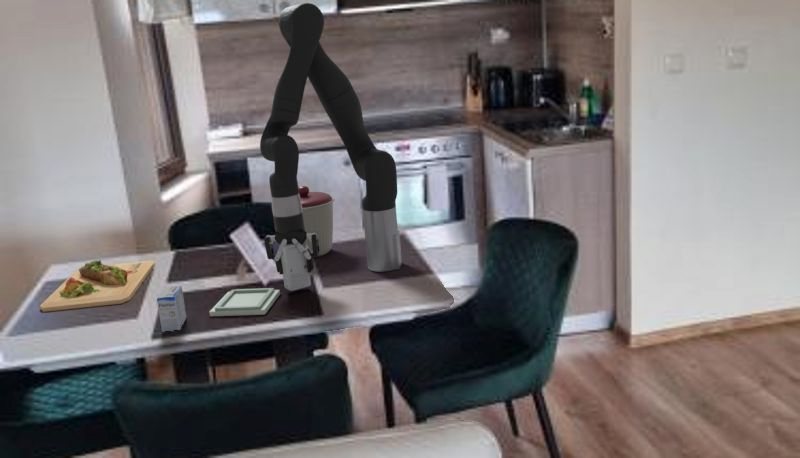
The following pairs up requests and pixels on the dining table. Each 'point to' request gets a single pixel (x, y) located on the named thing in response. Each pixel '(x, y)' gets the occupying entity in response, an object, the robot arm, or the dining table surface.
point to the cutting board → (99, 285)
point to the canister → (318, 217)
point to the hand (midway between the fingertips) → (296, 272)
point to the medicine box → (171, 308)
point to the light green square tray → (245, 302)
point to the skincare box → (294, 267)
